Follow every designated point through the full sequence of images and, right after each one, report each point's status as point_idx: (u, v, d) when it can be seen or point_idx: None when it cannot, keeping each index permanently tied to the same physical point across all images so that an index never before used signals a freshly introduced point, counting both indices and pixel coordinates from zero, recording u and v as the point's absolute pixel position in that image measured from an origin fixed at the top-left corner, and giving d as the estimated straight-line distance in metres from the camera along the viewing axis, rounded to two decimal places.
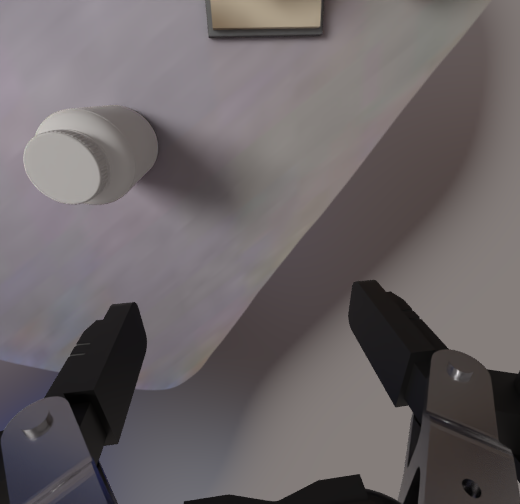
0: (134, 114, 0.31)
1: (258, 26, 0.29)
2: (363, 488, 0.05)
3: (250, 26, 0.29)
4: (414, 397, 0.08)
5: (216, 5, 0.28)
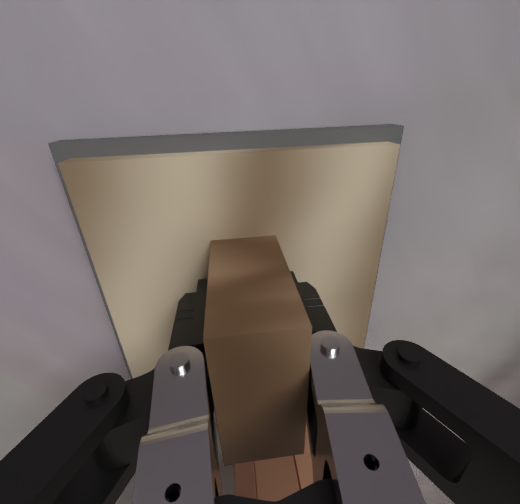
0: None
1: (103, 287, 0.11)
2: None
3: (97, 269, 0.11)
4: None
5: (122, 178, 0.09)
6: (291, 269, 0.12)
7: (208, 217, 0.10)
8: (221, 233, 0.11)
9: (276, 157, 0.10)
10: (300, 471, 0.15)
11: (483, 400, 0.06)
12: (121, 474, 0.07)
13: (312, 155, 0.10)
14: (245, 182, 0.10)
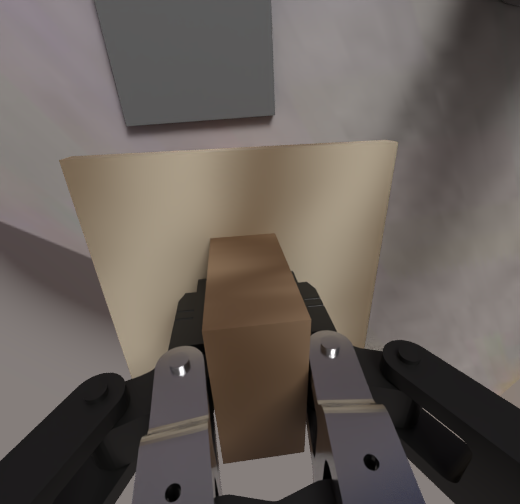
0: None
1: (103, 285, 0.11)
2: None
3: (97, 267, 0.11)
4: None
5: (122, 175, 0.09)
6: (291, 267, 0.12)
7: (208, 215, 0.10)
8: (221, 231, 0.11)
9: (275, 155, 0.10)
10: None
11: (483, 400, 0.06)
12: (121, 474, 0.07)
13: (311, 153, 0.10)
14: (245, 180, 0.10)
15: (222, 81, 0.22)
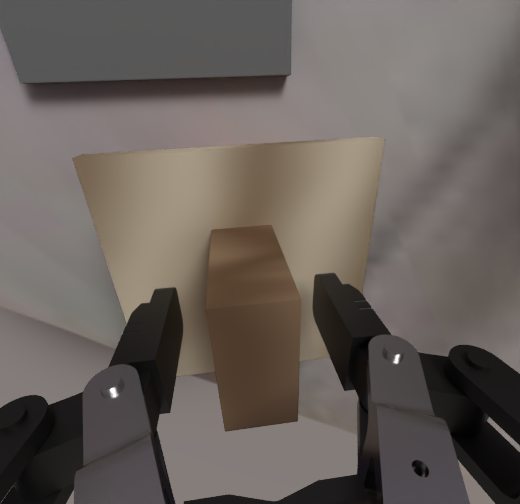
0: None
1: (112, 274, 0.12)
2: (363, 488, 0.05)
3: (106, 256, 0.12)
4: (357, 379, 0.08)
5: (130, 172, 0.10)
6: (286, 257, 0.12)
7: (209, 208, 0.11)
8: (221, 223, 0.11)
9: (271, 152, 0.10)
10: None
11: None
12: (55, 498, 0.07)
13: (304, 150, 0.11)
14: (243, 175, 0.11)
15: (197, 3, 0.12)
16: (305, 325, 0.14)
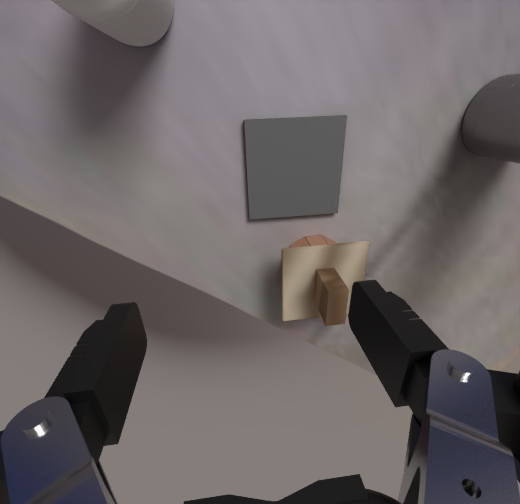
0: (164, 23, 0.27)
1: (283, 283, 0.38)
2: (363, 488, 0.05)
3: (283, 277, 0.37)
4: (414, 397, 0.08)
5: (296, 254, 0.36)
6: None
7: (316, 263, 0.37)
8: (319, 267, 0.37)
9: (336, 248, 0.36)
10: None
11: None
12: None
13: (345, 247, 0.36)
14: (327, 254, 0.36)
15: (309, 196, 0.38)
16: None
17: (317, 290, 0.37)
